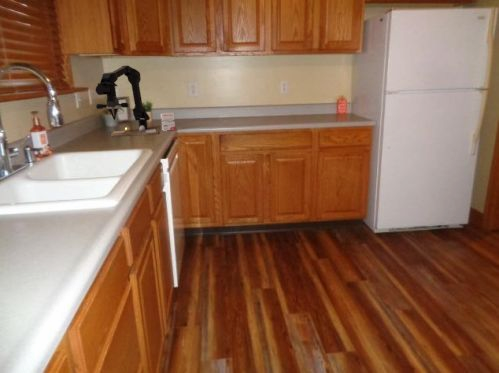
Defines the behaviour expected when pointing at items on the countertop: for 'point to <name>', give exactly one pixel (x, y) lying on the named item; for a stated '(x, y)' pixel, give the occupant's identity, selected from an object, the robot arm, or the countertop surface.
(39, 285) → the countertop surface
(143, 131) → the hinge board
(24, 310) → the countertop surface
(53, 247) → the countertop surface
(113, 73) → the robot arm
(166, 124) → the ink box
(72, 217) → the countertop surface
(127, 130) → the loose leaf
